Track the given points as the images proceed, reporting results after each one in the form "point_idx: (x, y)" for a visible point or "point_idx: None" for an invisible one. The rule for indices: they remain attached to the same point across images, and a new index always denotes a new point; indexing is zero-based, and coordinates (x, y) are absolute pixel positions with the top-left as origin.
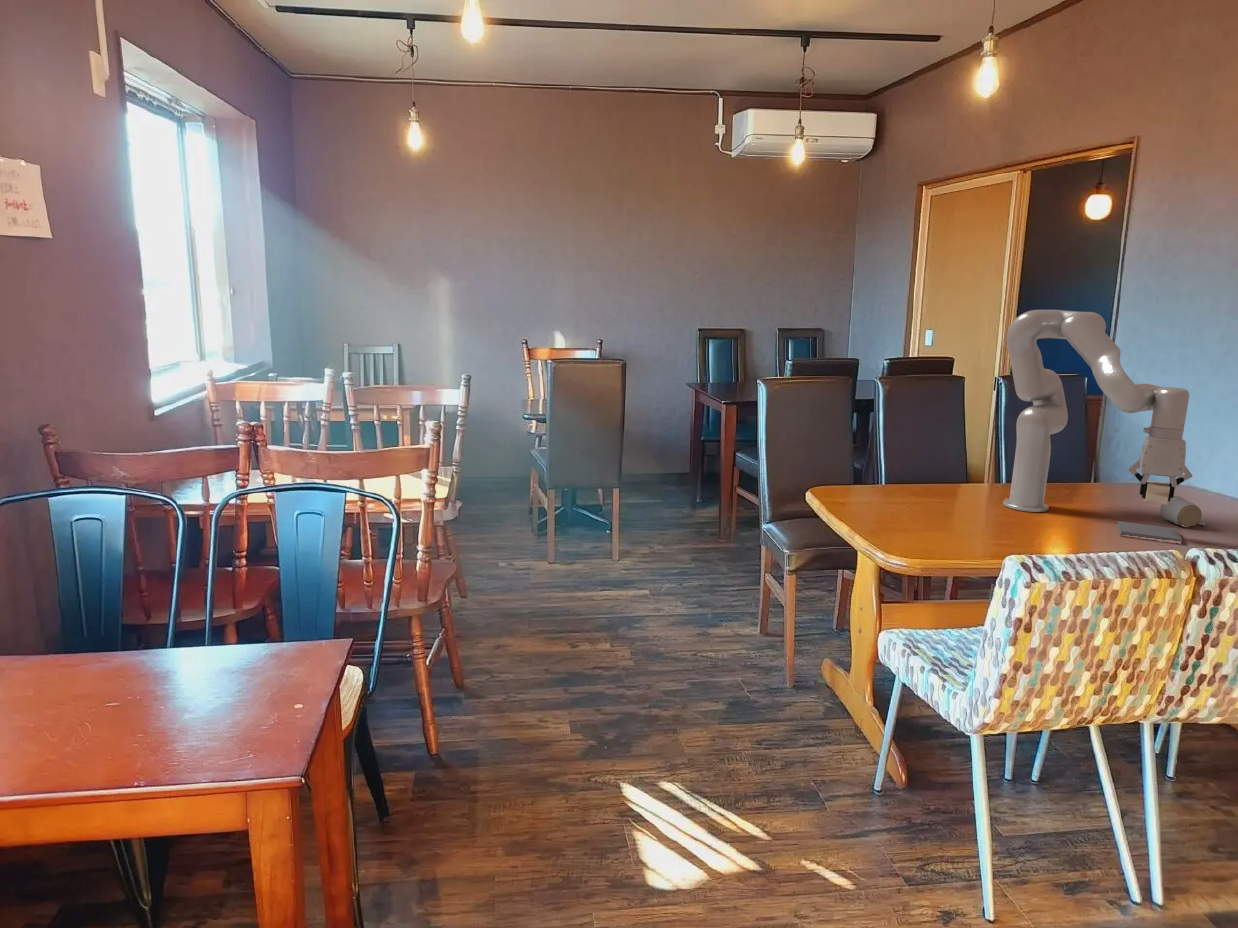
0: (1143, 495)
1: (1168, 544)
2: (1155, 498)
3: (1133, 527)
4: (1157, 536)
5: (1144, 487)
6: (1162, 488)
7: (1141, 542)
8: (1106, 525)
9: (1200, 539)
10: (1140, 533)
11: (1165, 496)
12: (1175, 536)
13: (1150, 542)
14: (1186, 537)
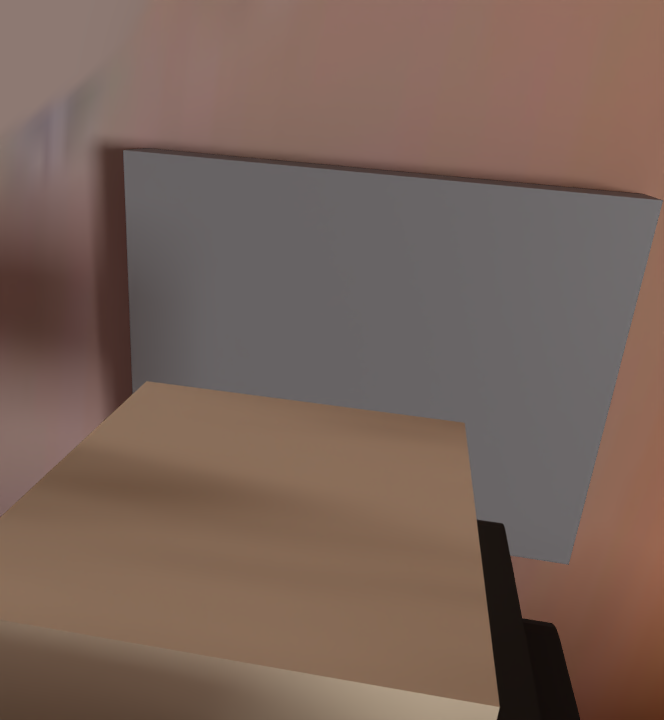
0: (505, 549)
1: (245, 111)
2: (308, 447)
3: (484, 401)
4: (323, 169)
5: (535, 700)
6: (122, 582)
7: (482, 56)
8: (652, 526)
9: (5, 392)
10: (471, 200)
11: (124, 460)
12: (166, 238)
13: (393, 102)
14: (90, 407)
